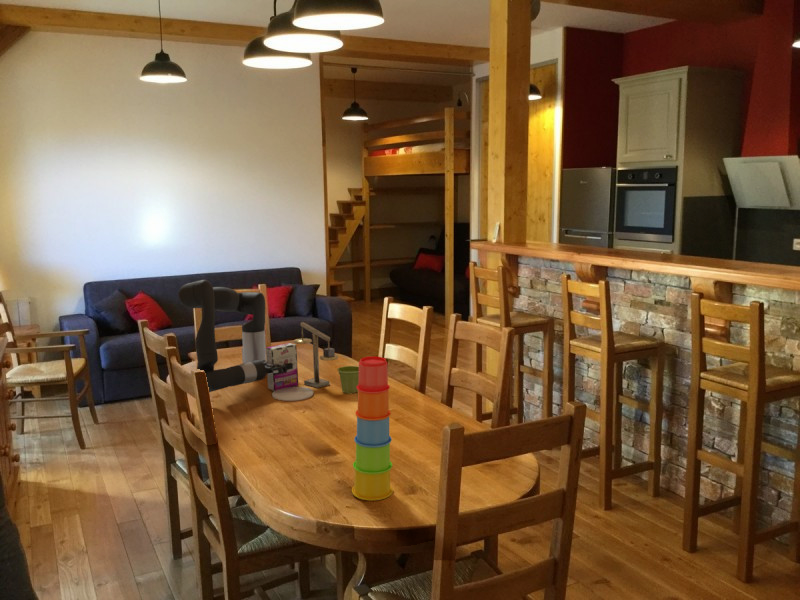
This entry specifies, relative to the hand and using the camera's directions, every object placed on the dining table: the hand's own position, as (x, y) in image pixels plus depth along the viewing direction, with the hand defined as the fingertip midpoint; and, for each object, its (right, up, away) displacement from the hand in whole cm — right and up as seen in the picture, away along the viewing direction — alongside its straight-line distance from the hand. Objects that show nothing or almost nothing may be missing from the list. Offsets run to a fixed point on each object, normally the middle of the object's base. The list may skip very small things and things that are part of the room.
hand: (285, 363), depth 276 cm
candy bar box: (-1, -9, 0) cm, 9 cm away
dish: (+4, -11, -10) cm, 15 cm away
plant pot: (+26, -10, -7) cm, 28 cm away
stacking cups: (+37, -24, -96) cm, 105 cm away
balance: (+12, -8, +3) cm, 15 cm away
